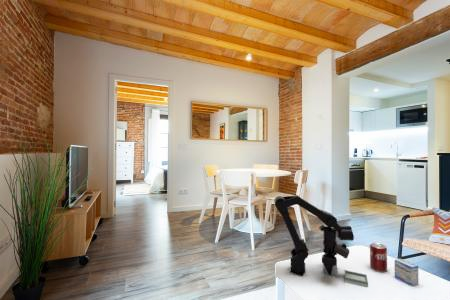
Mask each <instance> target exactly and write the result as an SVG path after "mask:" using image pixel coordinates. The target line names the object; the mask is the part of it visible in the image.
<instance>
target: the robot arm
mask: <svg viewBox="0 0 450 300" xmlns="http://www.w3.org/2000/svg"><path fill="white" fill-rule="evenodd" d="M273 201H274V205H275V208H276V210H277V211H278V213H279V214H280V216H282V217H281V218H282V219H283V221H284V223H285V226H286V228H287V231H288V232H289V235H290V237H291V240H292V245H293V249H292V250H290V255H291V257H290V270H289V273H290V274H295V275H299V276H304V274H305V273H306V262H305V260H306V259H307V258H308V256H309V251H310V250H309V247H308V246H307V243H306V241H305V239H304V238H302V239H301V237H300V236H299V234H298V232H297V229H296V227H295V224H294V223H293V220H292V217H291V216H290V212H289V207H292V206H295V205H298V206H299V207H301V208H302V209H303V210H305V211H307V212H308V213H310V214H312V215H314V216H316V217H317V218H318V219H319V220H320V221H321V222H322V223H323V224H321V226H319V227H318V229H319V230H320V232H323V233H322V234H323V242H322V243H323V250H322V252H323V254H322V256H321V263H322V264H324V266H325V268H326V270H327V272H328V274H329V275H331V273H332V268H333V266H335V265H336V264H337V265H338V260H337V257H336V256H337V255H338V256H340V257H343V258H344V259H348V257H349V254H350V249H349V248H348V247H347V244H346V243H341V244H338V242H337V239H339V240H340V241H351V242H352V241H354V239H355V236H354V232H353V229H352V226H351V225H340V224H338V219H337V218H336V217H335V216H334V215H333V214H332V213H331V212H328V211H326V210H323V209H320V208H318V207H316V206H315V205H313V204H311V203H310V202H309V201H308V200H305V199H304V198H302V197H300V195H298V194H294V195H287V196H281V195H279V196H278V195H277V196H276V197H275V198H274V200H273ZM329 275H328V276H329Z"/></svg>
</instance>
